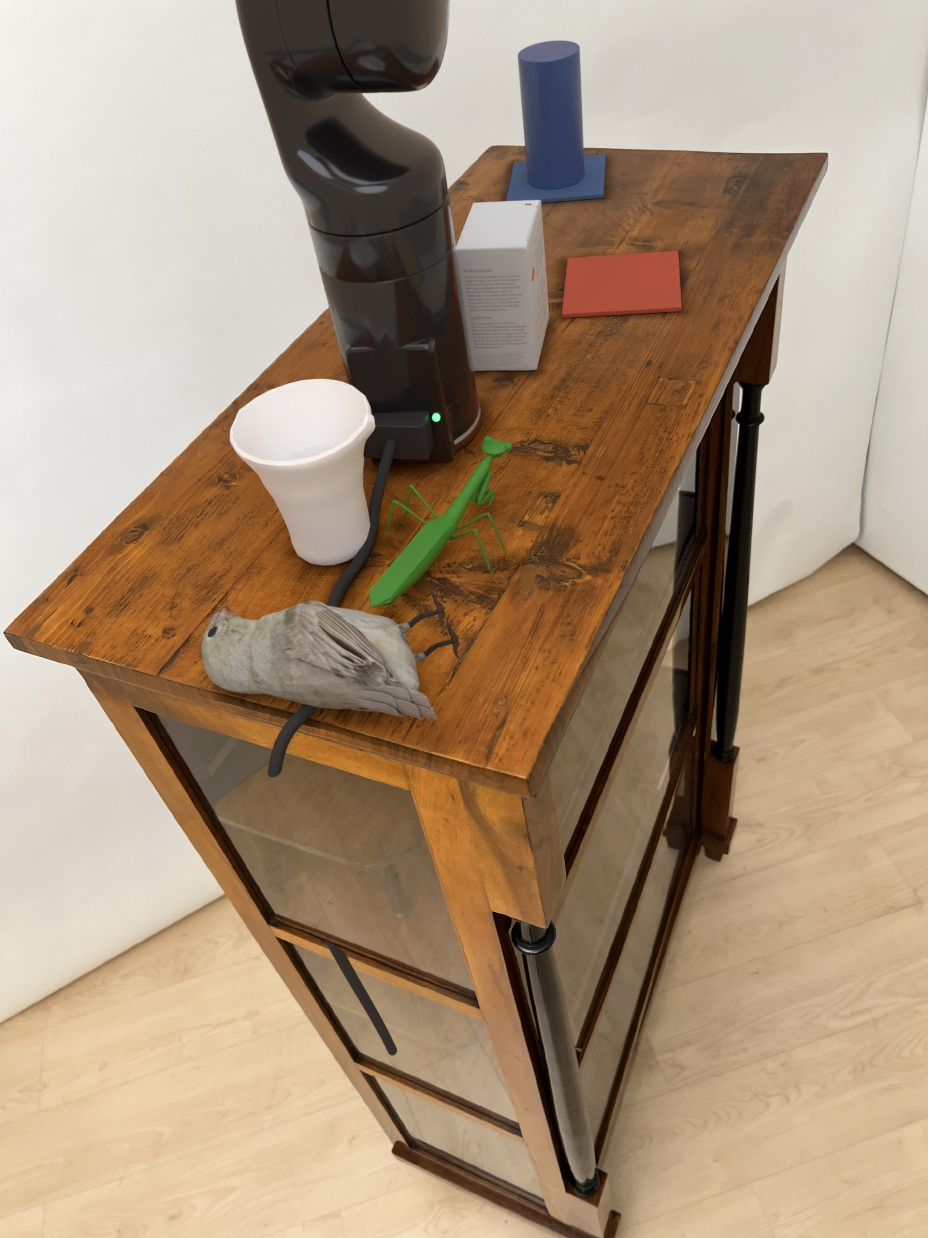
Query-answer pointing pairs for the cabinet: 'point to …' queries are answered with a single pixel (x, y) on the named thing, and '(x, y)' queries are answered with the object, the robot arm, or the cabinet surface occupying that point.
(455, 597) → the cabinet surface
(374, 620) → the decorative bird
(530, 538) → the cabinet surface
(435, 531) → the praying mantis
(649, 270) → the terracotta mat
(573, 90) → the blue can
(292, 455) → the cup
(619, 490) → the cabinet surface
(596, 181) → the blue mat
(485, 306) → the small box
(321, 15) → the robot arm
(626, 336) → the cabinet surface
